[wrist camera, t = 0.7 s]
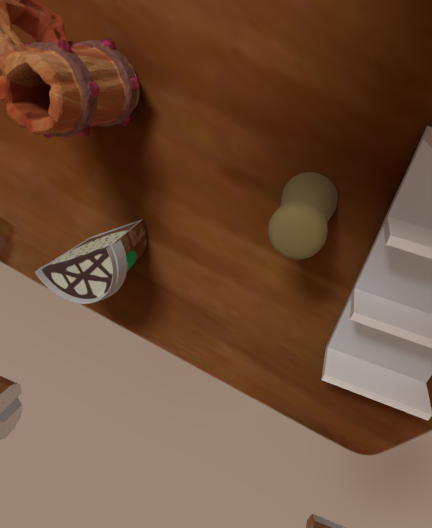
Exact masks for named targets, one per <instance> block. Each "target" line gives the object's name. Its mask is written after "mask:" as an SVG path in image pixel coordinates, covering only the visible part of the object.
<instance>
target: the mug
mask: <svg viewBox="0 0 432 528" xmlns="http://www.w3.org/2000/svg"><path fill="white" fill-rule="evenodd" d="M11 24H13V25H15V26H17V27H19V28H20V29H22V30H24V31H25V32H27V33H28V34H30V35H31V36H32V37H33V38H34V39H35V40H36V41H37V43H32V44H29V43H23V44H22V43H21V41H20V40H19V38H18V37H17V36H16V34H15V33H14V32H13V30H12V25H11ZM0 68H1V70H2V76H1V77H0V99H1V100H2V101H3V102H4V103H6V107H7V114H8V115H9V116H10V117H11V119H12V120H14V121H16V122H18V123H19V125H20V126H21V127H26V128H27V129H28V131H29V132H31V133H34V134H37V135H44V136H45V137H47V138H50V137H53V136H56V137H68V136H72V135H75V134H78V135H79V136H83V137H85V136H88V135H89V133H90V127H96V126H97V125H98V126H105V127H106V126H113V125H115V124H118V123H119V124H120V125H122V126H128V125H129V124H130V121H131V120H130V114H131V113H132V111H133V109H134V108H135V107H136V106H137V104H138V101H139V94H140V91H139V81H138V79H137V77H136V74H135V71H134V69H133V66H132V65H131V64H130V63H129V62H128V60H127V59H126V58H125V57H124V55H123V54H122V53H121V52H120V51H118V50H117V49H116V48H115V44H114V42H113V41H112V39H109V38H105V39H104V40H103V41H83V42H79V43H77V42H75V41H70V42H67V41H66V37H65V32H64V23H63V20H62V17H60V16H59V15H57V14H56V13H54V12H53V11H51V10H50V9H49V8H48V7H46V6H45V5H44V4H42V3H41V2H40V1H38V0H0Z"/></svg>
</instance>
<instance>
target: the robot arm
mask: <svg viewBox="0 0 432 528" xmlns="http://www.w3.org/2000/svg"><path fill="white" fill-rule="evenodd" d="M20 394H21V387H20V384H17V383H15V382H13V381H11V380H9V379H6V378H4V377H2V376H0V440H2V439H4V438H6V437H7V436H8V435H9V434H10V432H11V431H12V430H13V429H14V428H15V426H16V424H17V423H18V421H19V419H20V416H21V413H22V404H21V402H20V401H19V399H18V398H17V397H18V396H19V395H20ZM306 528H345V527H343V526H341V525H338V524H336V523H334V522H331V521H329V520H326V519H324V518H321V517H319V516H317V515H314V514H312V515H310V517H309V518H308V520H307V524H306Z"/></svg>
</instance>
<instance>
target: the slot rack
mask: <svg viewBox="0 0 432 528" xmlns="http://www.w3.org/2000/svg"><path fill="white" fill-rule="evenodd" d="M431 375H432V127H431V126H427V127H426V129H425V131H424V133H423V136H422V138H421V140H420V142H419V144H418V147H417V149H416V151H415V153H414V155H413V158H412V160H411V162H410V164H409V166H408V168H407V171H406V173H405V175H404V177H403V179H402V182H401V184H400V186H399V188H398V190H397V193H396V195H395V197H394V199H393V201H392V204H391V206H390V208H389V210H388V212H387V215H386V217H385V219H384V221H383V223H382V225H381V228H380V230H379V232H378V234H377V236H376V239H375V241H374V243H373V245H372V247H371V250H370V252H369V254H368V256H367V258H366V261H365V263H364V265H363V267H362V269H361V271H360V274H359V276H358V278H357V280H356V282H355V285H354V287H353V289H352V291H351V293H350V296H349V298H348V300H347V302H346V304H345V307H344V309H343V311H342V313H341V315H340V318H339V320H338V322H337V324H336V326H335V328H334V331H333V333H332V335H331V337H330V339H329V342H328V344H327V346H326V349H325V356H324V364H323V372H322V380H323V381H325V382H328V383H331V384H333V385H336V386H339V387H341V388H344V389H346V390H349V391H352V392H354V393H357V394H359V395H362V396H365V397H367V398H370V399H373V400H375V401H378V402H380V403H383V404H386V405H388V406H391V407H393V408H396V409H399V410H401V411H404V412H407V413H409V414H412V415H414V416H417V417H420V418H422V419H425V420H427V421H428V420H429V419H430V417H431V416H432V410H431V405H430V400H429V395H428V390H427V385H426V383H427V381H428V380H429V378H430V377H431Z"/></svg>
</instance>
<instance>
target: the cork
mask: <svg viewBox="0 0 432 528" xmlns="http://www.w3.org/2000/svg"><path fill="white" fill-rule="evenodd" d="M337 203H338V193H337V190H336V188H335V186H334V184H333V183H332V182H331V181H330V180H329V179H328V178H327V177H325V176H324V175H322V174H320V173H315V172H305V173H300V174H298V175H296V176H294V177H293V178H292V179H290V180H289V181H288V182H287V184H286V185H285V187H284V189H283V192H282V198H281V204H280V208H279V209H278V210H276V211H275V213H274V214H273V216H272V218H271V220H270V221H269V227H268V233H269V240H270V242H271V244H272V246H273V247H274V249H275V250H276V251H277V252H278V253H280V254H281V255H283V256H285V257H287V258H291V259H305V258H308V257H311V256H313V255H314V254H315V253H317V252H318V251H319V250H320V249H321V248H322V246H323V245H324V243H325V241H326V237H327V233H328V228H327V222H328V221H329V219H330V218H331V216H332V214H333V213H334V211H335V210H336V207H337Z"/></svg>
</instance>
